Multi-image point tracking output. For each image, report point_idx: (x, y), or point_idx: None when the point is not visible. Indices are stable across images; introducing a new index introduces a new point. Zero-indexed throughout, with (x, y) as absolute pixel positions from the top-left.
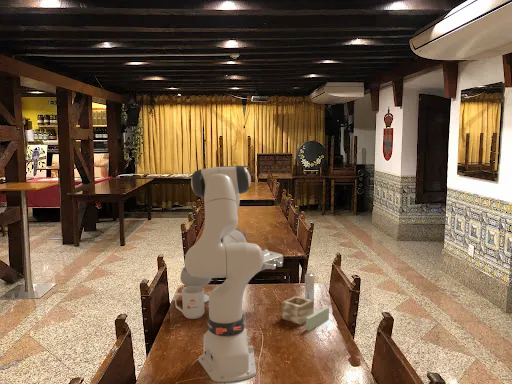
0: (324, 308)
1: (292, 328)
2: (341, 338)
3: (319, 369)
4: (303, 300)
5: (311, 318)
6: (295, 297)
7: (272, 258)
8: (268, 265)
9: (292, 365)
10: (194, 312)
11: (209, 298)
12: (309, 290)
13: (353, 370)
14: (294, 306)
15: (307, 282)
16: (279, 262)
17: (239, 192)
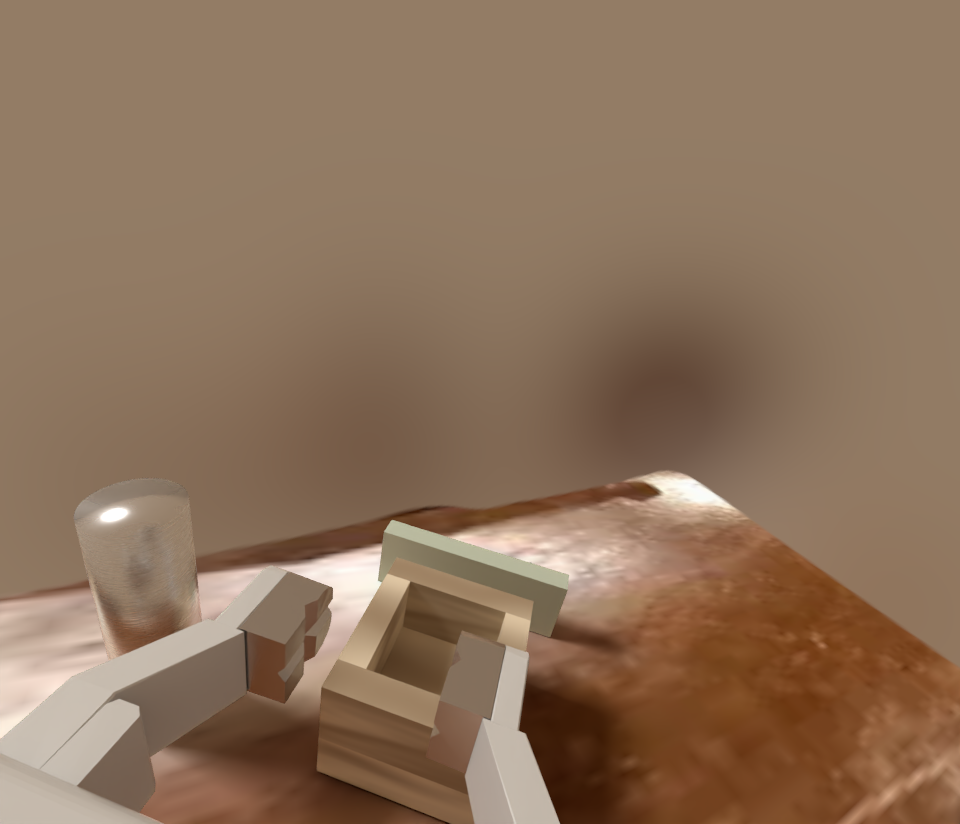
0: (410, 534)
1: (572, 708)
2: (535, 518)
3: (751, 550)
4: (393, 617)
5: (547, 572)
6: (366, 676)
7: (37, 808)
8: (537, 794)
9: (818, 619)
10: None
11: None
12: (198, 600)
13: (678, 491)
14: (526, 646)
15: (186, 563)
16: (293, 599)
17: None
